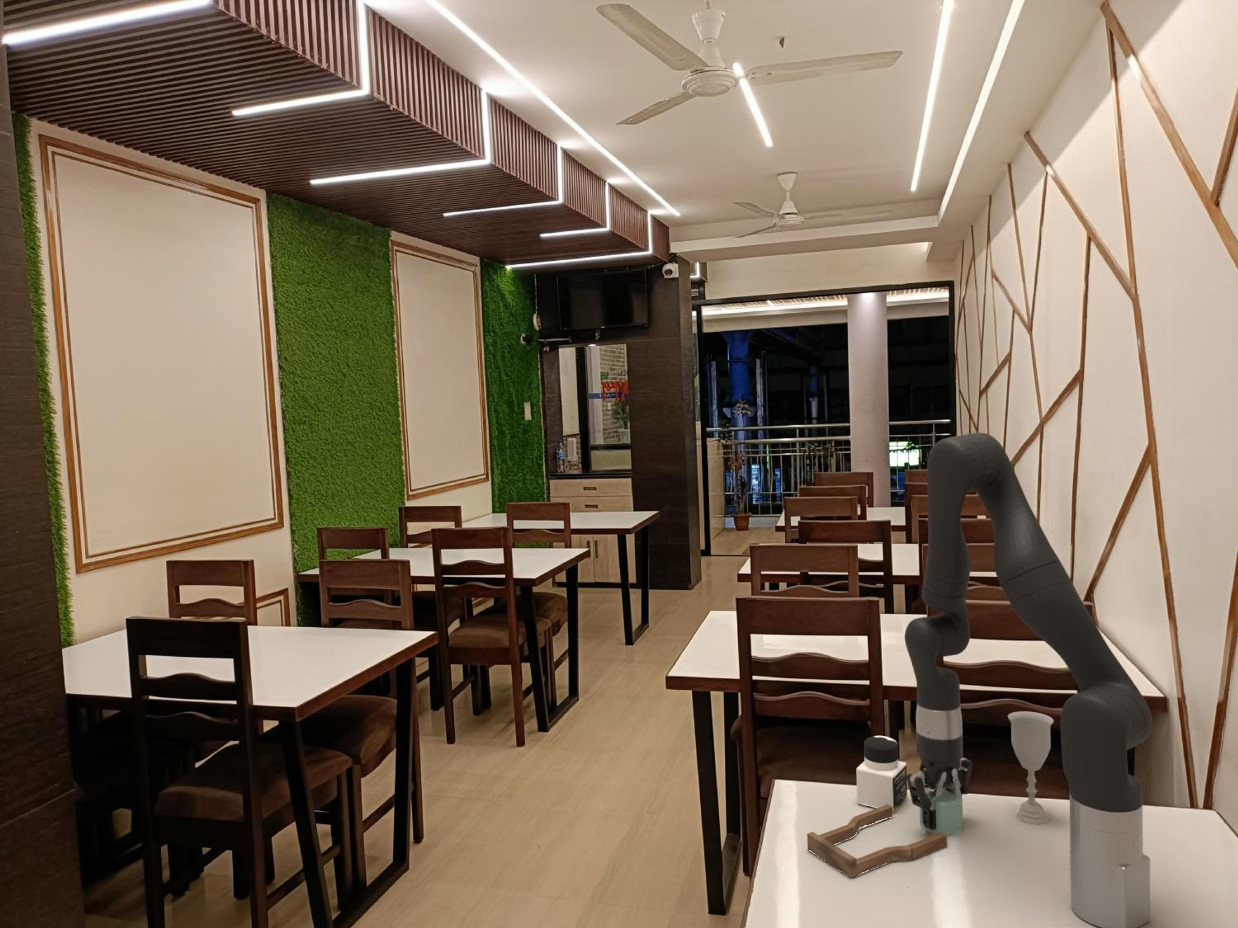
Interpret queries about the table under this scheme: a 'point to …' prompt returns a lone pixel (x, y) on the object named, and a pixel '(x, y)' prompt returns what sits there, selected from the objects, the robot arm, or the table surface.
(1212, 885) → the table surface
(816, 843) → the keyhole rail
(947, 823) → the teal block
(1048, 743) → the chalice
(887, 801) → the medicine bottle
